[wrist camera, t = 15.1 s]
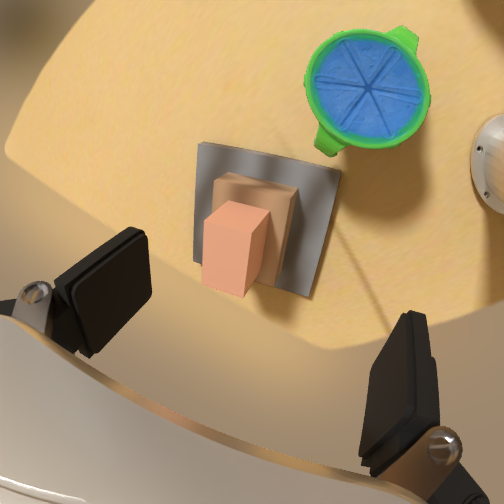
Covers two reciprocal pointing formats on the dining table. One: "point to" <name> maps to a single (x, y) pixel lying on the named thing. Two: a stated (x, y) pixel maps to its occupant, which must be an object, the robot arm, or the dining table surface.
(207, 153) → the base
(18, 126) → the dining table surface
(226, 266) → the brick
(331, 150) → the snack cup
